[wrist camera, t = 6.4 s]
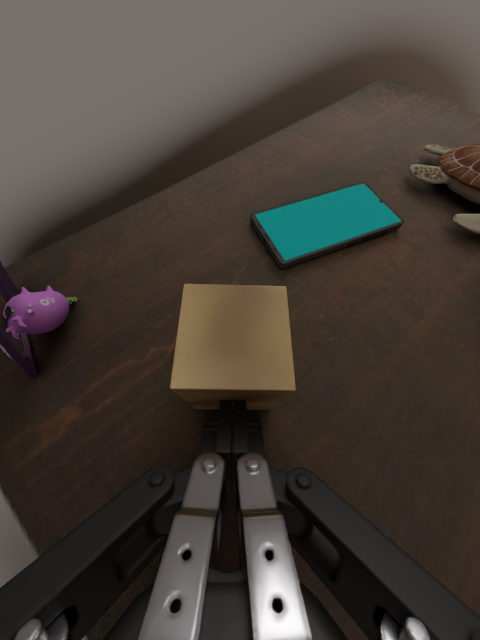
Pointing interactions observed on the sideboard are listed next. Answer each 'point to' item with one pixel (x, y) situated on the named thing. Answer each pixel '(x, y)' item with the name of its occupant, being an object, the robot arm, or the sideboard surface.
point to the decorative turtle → (455, 177)
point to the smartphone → (323, 223)
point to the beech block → (233, 346)
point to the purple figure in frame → (29, 318)
